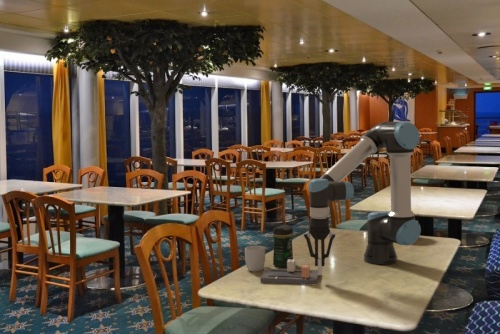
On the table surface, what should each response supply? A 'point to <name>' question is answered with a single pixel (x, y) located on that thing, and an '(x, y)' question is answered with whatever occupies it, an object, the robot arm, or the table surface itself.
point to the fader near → (305, 271)
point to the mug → (255, 258)
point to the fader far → (291, 265)
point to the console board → (288, 277)
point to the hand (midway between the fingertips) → (319, 273)
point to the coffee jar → (282, 245)
